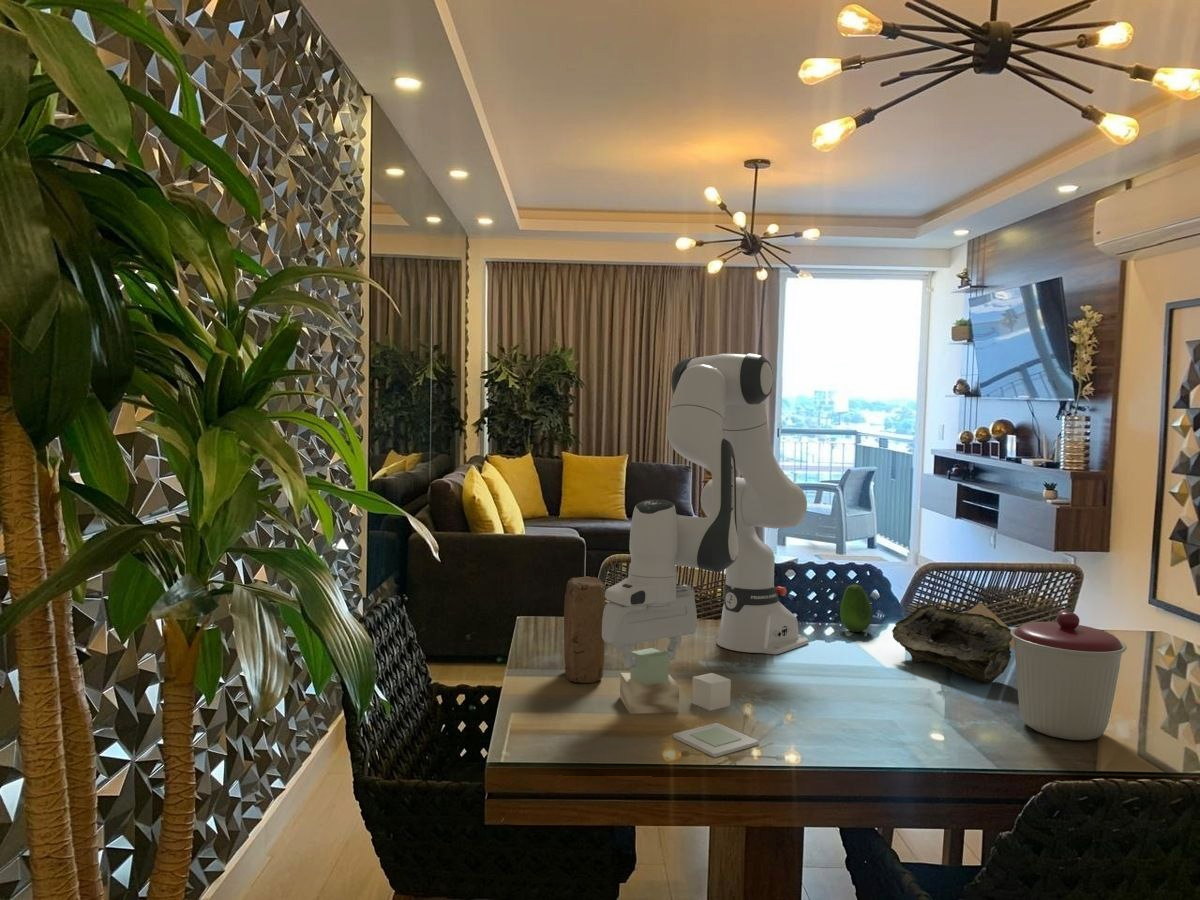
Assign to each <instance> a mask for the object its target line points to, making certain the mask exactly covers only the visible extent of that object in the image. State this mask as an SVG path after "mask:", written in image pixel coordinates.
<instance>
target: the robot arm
mask: <svg viewBox="0 0 1200 900" xmlns="http://www.w3.org/2000/svg"><path fill="white" fill-rule="evenodd" d="M670 380H671V382H670V383H671V384H670V385H671V390H672V393H673V395H672V399H671V404H670V407H669V411H668V417H667V422H666V429H665V430H666V433H665V434H666V438H667V441H668V443H669V445H670V446H671V448H672V449H673V450H674V451H675V452H676V453H677V455H678V454H679V456H681V457H682V458H684V459H685V460H687V461H689V462H692V463H693V464H696V465H697V466H700V467H701V468H704V469H705V470H707V471H709V472H710V474H711V479H709V480H708V481H707V483H706V484H705V485H704V486H703V488H702V491H701V495H700V506H701V508H702V511H703V512H704V514H705V516H706V517H703V516H702V517H701V516H692V515H691V516H690V515H689V516H688V515H681V514H677V511H676V505H675V504H674V503H673V502H672V501H670V500H666V499H647V500H643V501H640V502H638V503H637V504H636V505H635V506H634V509H633V512H632V517H631V522H630V528H629V529H630V530H629V543H628V545H629V549H628V550H629V553H630V565H629V567H628V577H626V578H624V579H622V580H621V581H620V582H617V583H615V584H614V585H612V586H609V587H608V588H606V589H605V591H604V593H605V601H606V600H607V601H608V602H607V603H605V608H604V611H603V619H602V639H603V640H604V642H605V644H606V645H609V646H611V647H615V648H618V649H619V651H620V653H621V655H622V657H623V666H624V668H626V669H631V668H633V667H636V658H635V657H632V655H631V651H632V650H633V645H636V644H640V643H647V642H654V641H657V640H664V639H668V640H669V642H668V645H667V648H665V649H663V652H664V653H667V654H669V661H673V660H676V655H677V652H676V651H677V650H678V648H679V646H680V644H681V642H682V636H688V635H693V634H694V633H695V632H696V630H697V628H698V617H697V614H698V613H697V607H696V606H697V605H696V601H695V599H696V595H695V593H696V592H695V590H694V589H693V587H692V586H690V585H689V584H683V585H677V579H678V577H677V576H678V572H677V567H686V568H695V569H699V570H703V571H708V572H713V573H721V572H723V571H725V582H724V583H723V589H722V590H723V591H722V592H723V593H722V596H723V597H722V599H723V602H724V603H723V606H722V612H721V618H720V625H719V630H718V632H717V639H716V644H717V645H718V646H719V647H722V648H724V649H726V650H730V651H734V652H735V651H736V652H742V653H755V654H756V653H757V654H768V655H779V654H782V653H786V652H788V651H791V650H793V649H797V648H800V647H802V646H806V645H809V639H808V638H807V637H805V636H804V635H802V634H799V623H798V618H797V617H796V616H795V615H794V614H793V613H792V612H791V611H790V610H789V609H787V608H786V607H785V606H784V605H783V604H782V603H781V602H780V601H779V599H780V598H779V596H778V595H780V596H782V597H785V596H786V594H787V592H788V591H787V589H786V587H785V586H781V585H778V586H775V584H774V583H775V559H776V557H775V555H774V554H775V553H774V552H773V550H772V548H771V547H770V546H769V545H768V544H767V543H765V542H763V541H762V540H761V539H760V538H759V535H758V534H757V531H756V528H755V527H759V528H768V529H776V530H777V529H785V528H786V529H787V528H793V527H797V526H798V525H799V524H800V523H801V522H802V521H803V519H804V518H805V516H806V513H807V510H808V501H807V497H806V494H805V493H804V491H803V489H802V488H801V486H799V485H798V484H796V483H795V482H794V481H793V480H792V479H790V478H789V477H788V476H787V474H785V472H784V471H783V469H782V468H781V467H780V465H779V463H778V462H777V459H776V458H775V455H774V452H773V448H772V443H771V438H770V432H769V424H768V417H767V410H766V405H765V400H766V399H768V397H769V396H770V395H771V393H772V389H773V384H774V376H773V369H772V366H771V363H770V361H769V360H768V359H767V358H766V357H765V356H763V355H760V354H756V353H747V354H741V353H719V354H715V355H704V356H700V357H696V356H691V357H687V358H684V359H681V360H680V361H679V362H678V363H677V364H676V365H675V366H674V367H673V371H672V373H671V379H670ZM737 472H738V473H739V474H740V475H741V477H738V476H737Z"/></svg>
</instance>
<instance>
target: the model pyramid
mask: <svg viewBox="0 0 1200 900" xmlns="http://www.w3.org/2000/svg"><path fill="white" fill-rule="evenodd" d="M966 613H970V614H981V615H984V616H986V617H990V618H993V619H995V620H996V621H997V623H999V624H1000V625H1001V626H1005V627H1008V629H1010V630H1012V628H1010V627H1009V626H1008V625H1007V624H1006V623H1005V622H1004V621H1002V620H1001V619H1000V617H998V616H997V615H996V614H994V613H993V612H992V611H991V610H990V609H989V608H988V607H987V606H986V605H985V604H984V603H982V602H981V601H980V602H979V603H978V604H976V605H975V606H973V607H972V608H971V609H970V610H968V611H967V612H966ZM1009 644H1010V645H1009V646H1011V647H1010V649H1013V648H1014V649H1015V643H1014V638H1013V637H1012V640H1011V641H1010V642H1009Z"/></svg>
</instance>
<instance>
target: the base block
mask: <svg viewBox="0 0 1200 900" xmlns="http://www.w3.org/2000/svg"><path fill="white" fill-rule="evenodd" d="M619 682H620V685H619V687H620V688H619V698H620V700H621V701H622V703H623V704H624V708H626V710H627V712H628V713H629V714H630V715H634V714H659V713H661V714H663V713H666V714H667V713H679V712H680V709H679V708H680V685H679V684H678V683H677V682H676V681H675V679H674V678H673V677H672V676H671V675H670V674H669V679H668V681H667V682H662V683H657V684H652V685H645V684H642V683H640V682H638V681H636V680H633V679H631V678H630V672H620V679H619Z"/></svg>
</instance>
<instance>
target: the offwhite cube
mask: <svg viewBox="0 0 1200 900" xmlns="http://www.w3.org/2000/svg"><path fill="white" fill-rule="evenodd" d="M731 682H732V680H731V679H730V678H727V677H724V676H722V675H719V674H717V673H714V672H709V673H706V674H701V675H696V676H695V675H694V676H692V681H691V683H692V684H691V704H693V705H696V706H697V707H698V706H699V707H701V708H703V709H705V710H707V711H714V710H718V709H722V708H727V707H730V706H731V687H732V683H731Z"/></svg>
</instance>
